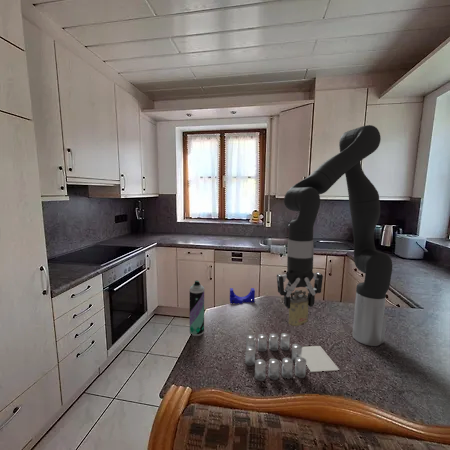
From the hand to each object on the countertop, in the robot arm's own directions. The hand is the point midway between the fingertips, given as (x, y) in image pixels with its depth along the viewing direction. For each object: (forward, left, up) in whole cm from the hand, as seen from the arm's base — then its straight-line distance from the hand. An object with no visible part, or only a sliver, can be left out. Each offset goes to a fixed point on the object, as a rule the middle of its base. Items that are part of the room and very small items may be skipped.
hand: (298, 306), depth 78 cm
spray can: (+31, -19, -18) cm, 41 cm away
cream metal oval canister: (0, 0, -6) cm, 6 cm away
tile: (-7, 0, -18) cm, 19 cm away
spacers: (+7, 0, -18) cm, 19 cm away
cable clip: (+9, -45, -18) cm, 49 cm away
